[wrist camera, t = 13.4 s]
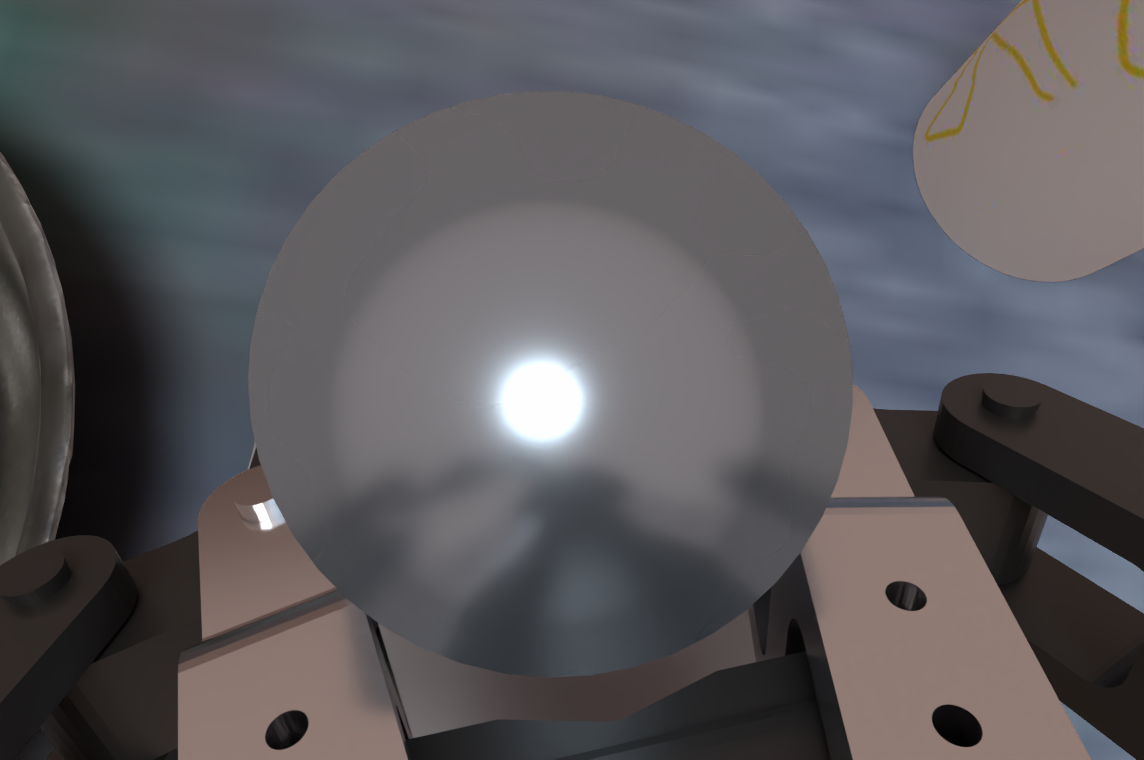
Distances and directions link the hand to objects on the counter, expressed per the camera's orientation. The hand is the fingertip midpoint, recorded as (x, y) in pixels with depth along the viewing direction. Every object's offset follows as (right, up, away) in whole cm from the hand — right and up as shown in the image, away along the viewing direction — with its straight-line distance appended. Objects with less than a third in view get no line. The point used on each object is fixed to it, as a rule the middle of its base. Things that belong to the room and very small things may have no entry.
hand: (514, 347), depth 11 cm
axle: (0, -3, +5) cm, 6 cm away
